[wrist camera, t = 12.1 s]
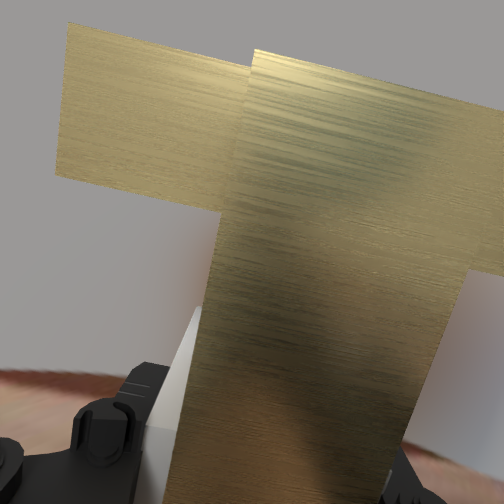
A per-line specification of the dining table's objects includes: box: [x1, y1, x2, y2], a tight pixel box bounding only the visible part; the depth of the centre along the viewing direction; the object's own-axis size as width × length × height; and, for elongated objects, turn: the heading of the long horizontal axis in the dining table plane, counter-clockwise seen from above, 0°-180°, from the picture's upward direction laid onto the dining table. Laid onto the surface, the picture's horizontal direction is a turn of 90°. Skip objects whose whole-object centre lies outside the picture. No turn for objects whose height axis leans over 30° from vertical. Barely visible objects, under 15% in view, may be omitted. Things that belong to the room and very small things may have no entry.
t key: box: [55, 22, 504, 504], centre depth 8 cm, size 10×4×18 cm, turn 90°
